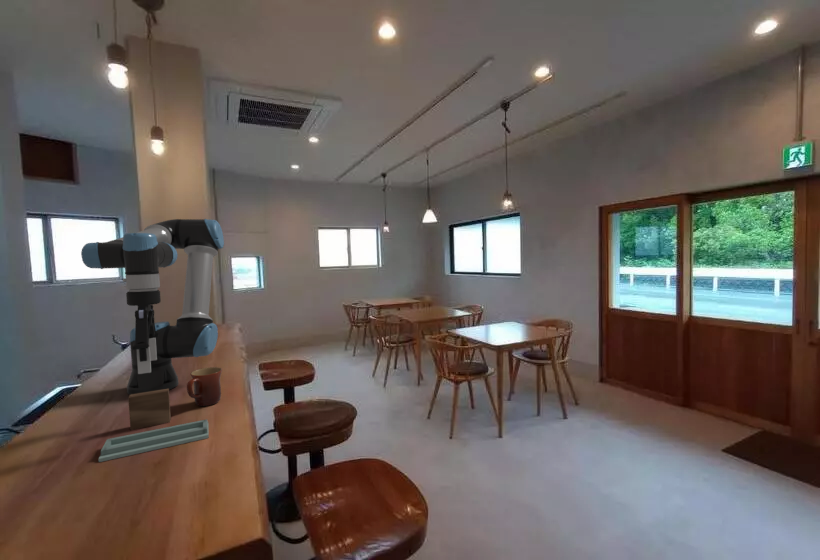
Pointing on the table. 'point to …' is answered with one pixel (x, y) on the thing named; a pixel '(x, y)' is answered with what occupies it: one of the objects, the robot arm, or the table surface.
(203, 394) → the mug
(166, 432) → the track base
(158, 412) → the slider block
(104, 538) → the table surface
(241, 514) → the table surface
